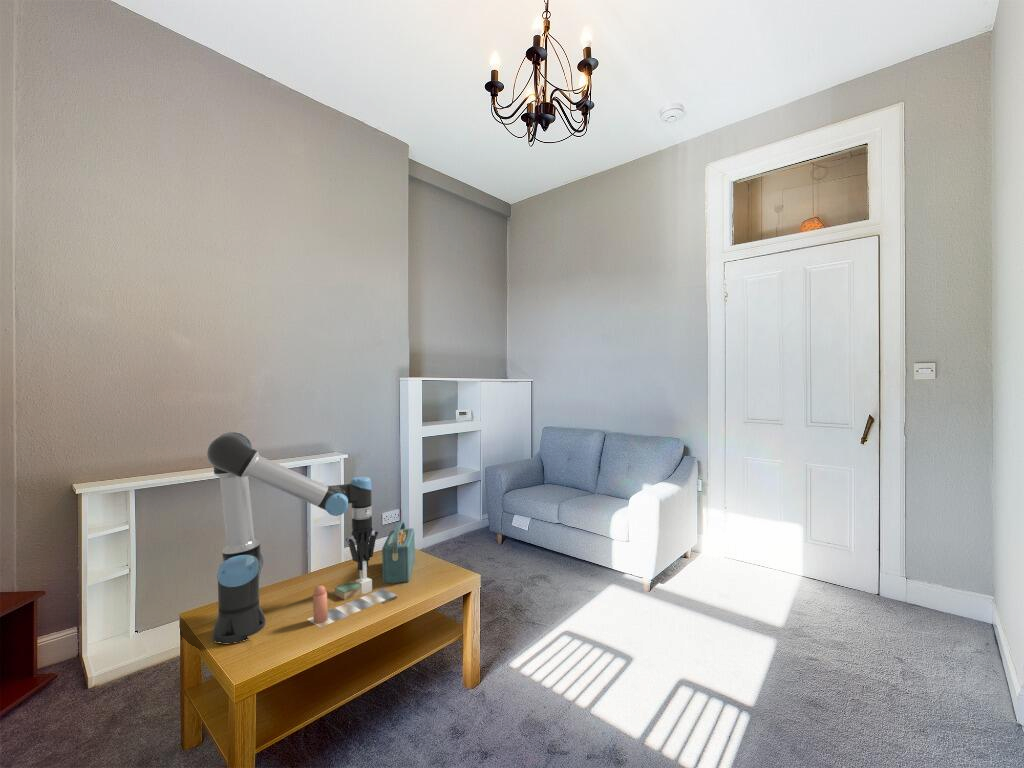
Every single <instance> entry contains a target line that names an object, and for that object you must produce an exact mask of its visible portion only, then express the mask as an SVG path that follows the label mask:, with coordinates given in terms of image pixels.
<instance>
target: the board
mask: <svg viewBox="0 0 1024 768" xmlns="http://www.w3.org/2000/svg"><path fill="white" fill-rule="evenodd" d="M396 599H398V594H395V593H394V592H391V591H389V590H387V589H385V588H381V589H379V590H376V591H372V592H370V593H367V595H364V596H361V597H359V598H356V599H353V600H351V601H349V602H346V603H344V604H342V605H339V606H336V607H334V608H331V609H329V610H328V609H327V611H328V620H327V621H325V622H323V623H319V624H317V623H314V615H313V616H311V617H309V618H307V620H308V621H309V622H310V623H312V624H313V625H315V626H317V628H322V627H325V626H328V625H329V624H333V623H334V622H337V621H339V620H342V619H344V618H347V617H349V616H351V615H353V614H356V613H358V612H360V611H363V610H365V609H367V608H369V607H372V606H375V605H376V604H382V605H384V604H386V603H389V602H391V601H393V600H396Z"/></svg>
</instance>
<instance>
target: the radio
mask: <svg viewBox="0 0 1024 768" xmlns="http://www.w3.org/2000/svg"><path fill="white" fill-rule="evenodd" d="M415 541H416V540H415V528H413V527H412V528H406V525H405V522H404V521H399V522H397V524H396V526H395V528H393V529H392V528H391V530H390V532H389V533H388V536H387V538H386V539H385V541H384V543H383V546H382V548H381V552H382V553H381V556H382V583H383V584H385V585H386V584H398V583H400V584H401V583H409V582H410V580H411V575H412V572H413V567H414V565H415V564H414V563H415V561H416V551H415V549H416V547H415V546H416V545H415Z"/></svg>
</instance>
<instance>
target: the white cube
mask: <svg viewBox="0 0 1024 768" xmlns="http://www.w3.org/2000/svg"><path fill="white" fill-rule="evenodd" d="M354 583H356V584H358V585H361V590H362V593H361V594H362V595H365V594H369V593H371V592H373V579H372V578H370V577H367V578H365V579H363V578H358V579H356V580H355V582H354Z"/></svg>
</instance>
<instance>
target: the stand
mask: <svg viewBox="0 0 1024 768" xmlns="http://www.w3.org/2000/svg"><path fill="white" fill-rule="evenodd" d="M361 594H362V590H361V585H358V584H356V583H355V582H354V581H348V582H346V583H342V584H339V585H337V586H335V587H334V596H336V597H338V598H340V599H342V600H344V601H346V600H348V599H349V600H350V599H351V598H354V597H356V596H359V595H361Z"/></svg>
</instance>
